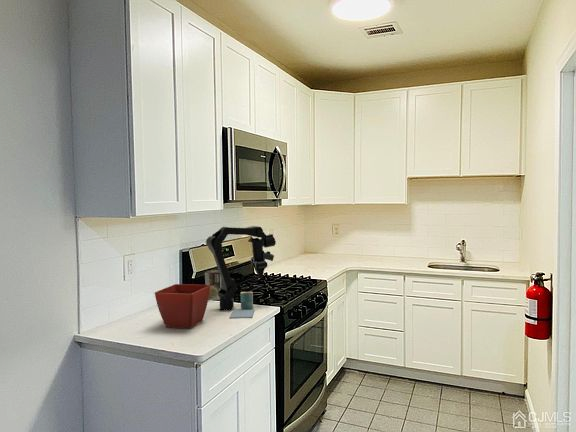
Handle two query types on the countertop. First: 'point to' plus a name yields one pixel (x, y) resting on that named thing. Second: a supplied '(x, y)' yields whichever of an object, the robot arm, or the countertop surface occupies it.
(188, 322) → the plant pot
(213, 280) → the coffee box
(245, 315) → the mat
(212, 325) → the countertop surface
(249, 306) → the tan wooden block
